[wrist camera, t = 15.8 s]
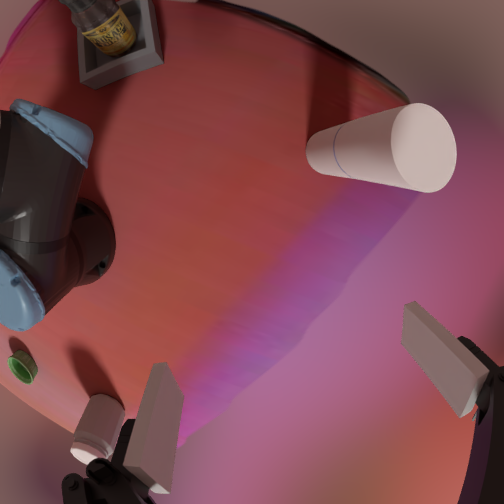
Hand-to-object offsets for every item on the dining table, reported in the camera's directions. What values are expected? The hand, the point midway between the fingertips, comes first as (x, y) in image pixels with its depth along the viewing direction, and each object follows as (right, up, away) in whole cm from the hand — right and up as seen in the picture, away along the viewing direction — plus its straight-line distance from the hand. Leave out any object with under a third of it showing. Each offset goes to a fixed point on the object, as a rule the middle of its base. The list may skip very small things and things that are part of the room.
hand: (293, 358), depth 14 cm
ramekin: (-61, -23, +37) cm, 75 cm away
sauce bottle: (-23, +40, +18) cm, 50 cm away
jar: (-38, -32, +41) cm, 65 cm away
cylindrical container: (+10, +21, +27) cm, 36 cm away
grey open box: (-23, +40, +19) cm, 50 cm away
